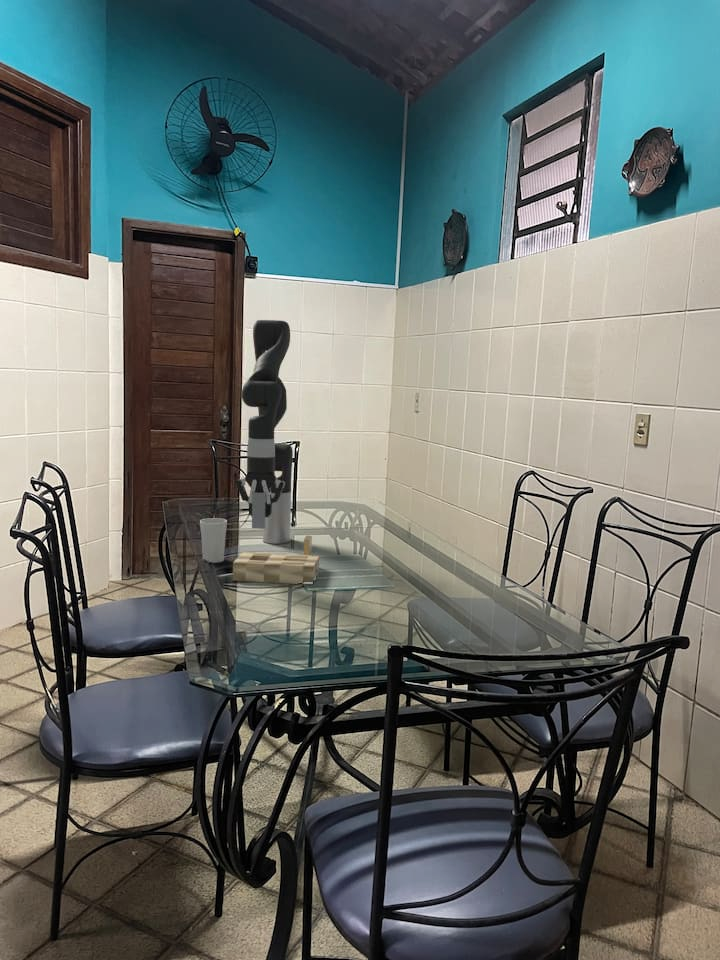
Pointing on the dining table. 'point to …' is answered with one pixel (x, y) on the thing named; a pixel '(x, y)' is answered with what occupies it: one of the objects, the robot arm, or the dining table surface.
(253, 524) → the square bit
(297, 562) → the socket block
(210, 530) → the cup
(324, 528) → the dining table surface
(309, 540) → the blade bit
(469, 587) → the dining table surface
